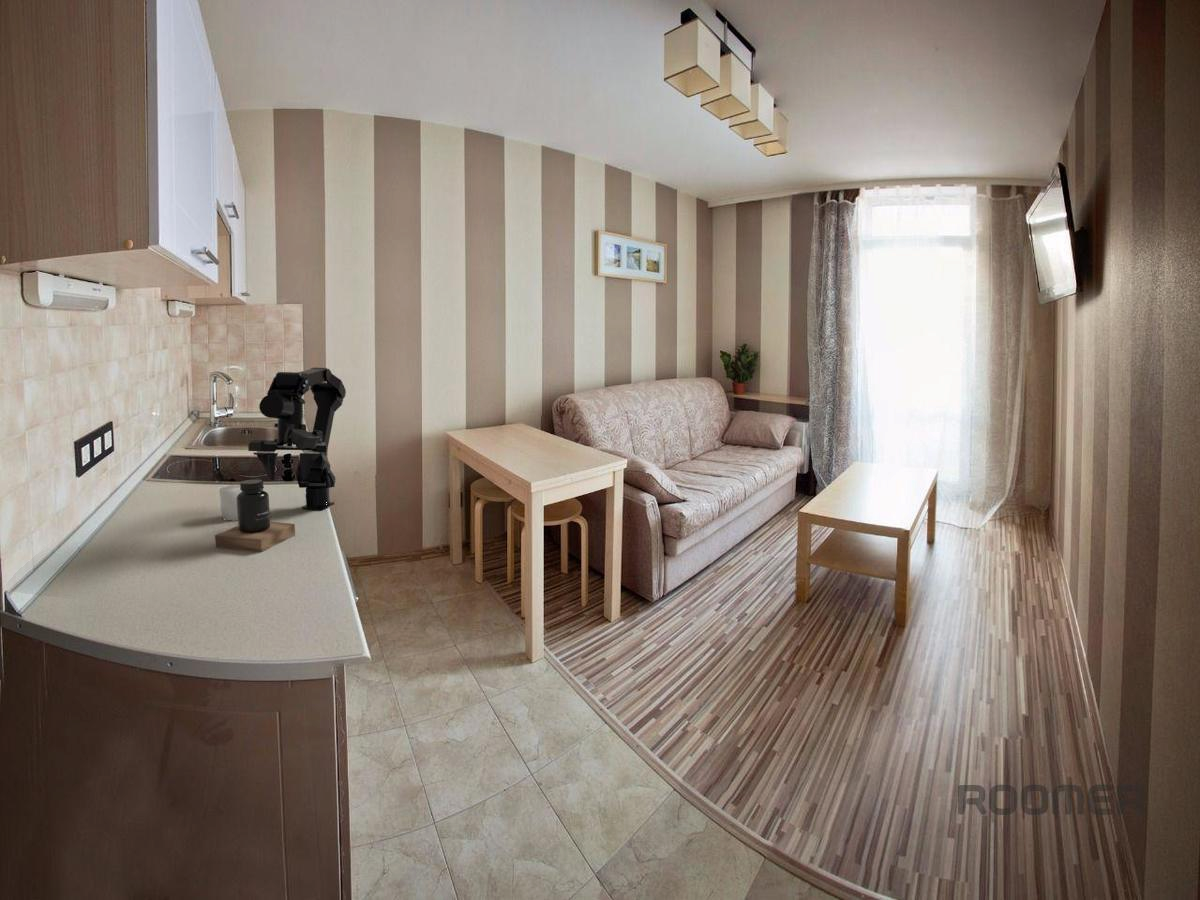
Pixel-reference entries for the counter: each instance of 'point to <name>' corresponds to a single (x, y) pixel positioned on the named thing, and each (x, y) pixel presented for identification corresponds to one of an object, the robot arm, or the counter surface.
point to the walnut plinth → (255, 537)
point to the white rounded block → (229, 502)
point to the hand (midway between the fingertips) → (288, 479)
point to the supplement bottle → (253, 507)
